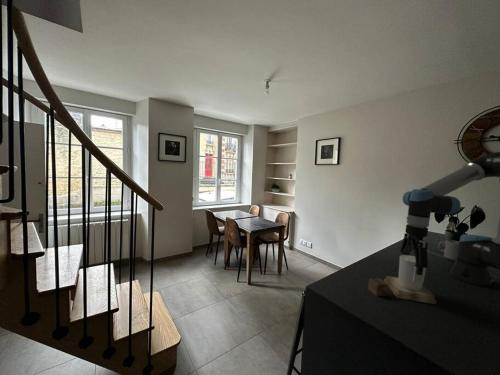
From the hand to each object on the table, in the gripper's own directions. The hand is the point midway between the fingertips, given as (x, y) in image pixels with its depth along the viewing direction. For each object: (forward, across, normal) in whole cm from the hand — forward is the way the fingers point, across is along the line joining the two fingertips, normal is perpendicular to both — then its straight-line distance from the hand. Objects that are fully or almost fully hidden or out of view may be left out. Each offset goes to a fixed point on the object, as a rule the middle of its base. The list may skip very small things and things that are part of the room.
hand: (410, 275), depth 96 cm
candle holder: (+5, 0, 0) cm, 5 cm away
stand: (+8, 0, 0) cm, 8 cm away
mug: (+8, -59, +50) cm, 78 cm away
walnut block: (+8, +5, -14) cm, 17 cm away
